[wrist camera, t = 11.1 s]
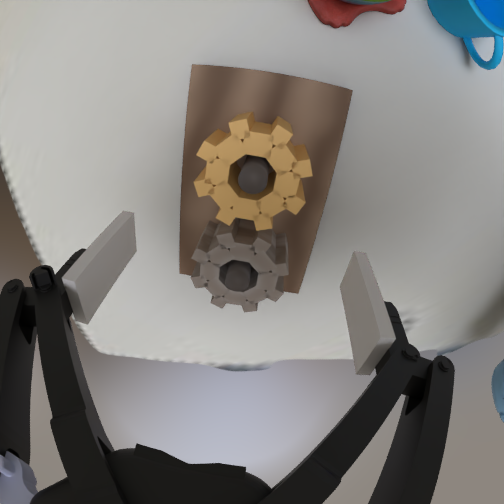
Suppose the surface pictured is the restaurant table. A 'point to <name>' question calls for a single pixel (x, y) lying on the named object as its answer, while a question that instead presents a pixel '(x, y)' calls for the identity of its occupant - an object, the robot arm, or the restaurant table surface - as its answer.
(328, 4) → the stacking bear
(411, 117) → the restaurant table surface
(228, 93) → the gear board
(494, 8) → the mug
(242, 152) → the ochre gear
